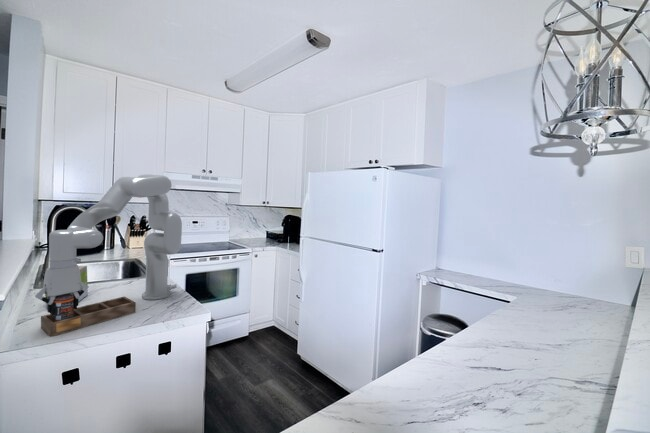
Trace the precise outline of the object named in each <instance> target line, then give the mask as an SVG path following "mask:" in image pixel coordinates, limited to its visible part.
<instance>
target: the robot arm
mask: <svg viewBox="0 0 650 433" xmlns="http://www.w3.org/2000/svg"><path fill="white" fill-rule="evenodd" d="M171 189H172V181H171V179H170V178H169V177H168V176H165V175H162V174H161V175H160V174H140V175H138V176H137V177H135V176H133V177H132V176H122V177H119V178H118V179H117V180H115V182H114V183H113V184H112V186H111V187H109V189H108V191H106V193H105V194H104V195H103V196H102V197H101V199H100V200H99V201H98V202H97V203H95V204H94V205H92V206H90V207H89V208H87V209H86V210H84V211H83V212H81V213H80V214H79V215H77V217H75V219H73V221H72V222H71V223H70V225H68V227H67V229H57V230H52V231H51V232H50V233H49V234H48V235H49V236H48V243H49V244H48V247H49V248H48V251H49V252H48V256H49V259H48V260H49V262H48V263H49V266H48V267H47V268H45V273H44V278H43V287H42V289H40V290H39V291H38V292H37V293H36V294H35V295H34V297H35V298H36V299H38V300H40V301H41V302H44V303H45V304H46V303H47V308H46V310H47V313H48V314H51V315H54V314H55V304H54V303H53V301H54V299H55V297H56V296H59V295H63V294H67V293H72V295H73V296H74V309H77V308H78V307H79V302H78V298H80V296H81V295H82V294H83V293H84V291H86V290H87V289H88V290H89V285H88V286H87V285H86V284H84V283H83V282H81V275H80V270H79V266H80V265H78V263H81V261H82V258H77V249H93V248H96V247H98V246H100V245H101V244H102V243H103V240H104V235H103V233H102V232H101V231H100V230H97V229H94V227H95V226H96V225H97V224H100V222H102V221H103V222H104V221H105V220H107V219H110V218H114V217H116V216H119V215H120V214H121V213H122V212H123V211H124V208H125V207H126V206H127V205H128V203H129V202H131V200H132V198H140V199H141V198H147V201H148V220H147V221H148V226H149V228H151V229H152V230H155V231H161V232H151V233H149V234H147V235H146V236H145V238H144V240H143V246H144V251H145V291H144V292H142V294H141V298H142V299H145V300H148V301H149V300H151V301H152V300H153V301H155V300H161V299H162V300H163V299H165V298H168V297H170V296H171V294H172V292H171V290H174V289H177V288H178V286H177V284H171V283H170V284H168V278H169V277H168V276H169V272H168V271H169V258H168V255H171V256H172V255H175V254H177V253H178V252H179V250H180V249H181V247H182V246H181V245H182V232H183V231H182V230H183V222H182V219H181V216H180V215H179V214H178V213H176V212H171V211H170V210H169V206H170V205H169V198H168V195H167V193H169V192H170V191H171ZM81 286H82V288H81ZM77 291H78V292H77ZM45 294H47V295H48V297H47V298H45V296H44V295H45Z"/></svg>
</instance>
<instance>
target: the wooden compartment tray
mask: <svg viewBox="0 0 650 433" xmlns="http://www.w3.org/2000/svg"><path fill="white" fill-rule="evenodd" d="M136 305H137V304H136V301H135V300H132V299H130V298H128V297H126V296H122V297H115V298H112V299H109V300H103V301H100V302H96V303H91V304H86V305H82V306H77V309H74V316H73V317H72V318H68V319H64V320H61V321H57V322H54V321H53V315H51V314H50V313H48V314H44V315H41V316H40V329H41V330H43V331H44V333H46V334H47V335H48V336H49V337H55V336H58V335H62V334H64V333H68V332H71V331H75V330H78V329H82V328H86V327H89V326H93V325H96V324H100V323H103V322H104V323H105V322H107V321H111V320H114V319H118V318H121V317H125V316H127V315H128V316H129V315H132V314H135V313H136V309H137V308H136Z"/></svg>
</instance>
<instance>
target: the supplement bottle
mask: <svg viewBox="0 0 650 433" xmlns="http://www.w3.org/2000/svg"><path fill="white" fill-rule="evenodd" d="M53 303H54V304H55V314H54V315H53V321H54V322H57V321H61V320H64V319H68V318H72V317H73V316H74V296H73V295H72V294H70V293H67V294H63V295H59V296H56V297H55V299H54V301H53Z"/></svg>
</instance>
